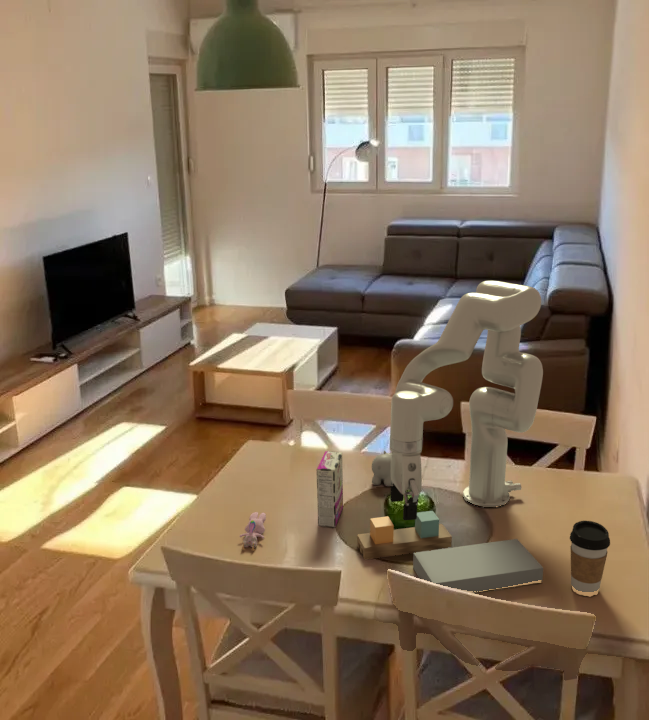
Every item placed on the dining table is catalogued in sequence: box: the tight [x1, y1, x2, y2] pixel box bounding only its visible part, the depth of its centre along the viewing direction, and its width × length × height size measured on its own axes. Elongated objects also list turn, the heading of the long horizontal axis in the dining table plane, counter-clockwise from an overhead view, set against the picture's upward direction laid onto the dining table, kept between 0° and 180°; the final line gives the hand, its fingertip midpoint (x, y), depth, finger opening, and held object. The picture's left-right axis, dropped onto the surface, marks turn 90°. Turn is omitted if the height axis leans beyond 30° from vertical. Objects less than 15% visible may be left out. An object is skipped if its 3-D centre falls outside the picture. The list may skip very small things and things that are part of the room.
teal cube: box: [414, 510, 440, 538], centre depth 194 cm, size 4×4×4 cm
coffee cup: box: [569, 520, 611, 592], centre depth 174 cm, size 8×8×15 cm
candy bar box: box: [316, 450, 344, 528], centre depth 207 cm, size 11×5×16 cm, turn 168°
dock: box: [412, 538, 544, 594], centre depth 182 cm, size 26×13×4 cm, turn 103°
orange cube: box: [369, 515, 395, 544], centre depth 192 cm, size 4×4×4 cm
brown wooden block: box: [356, 523, 453, 560], centre depth 194 cm, size 22×6×4 cm, turn 103°
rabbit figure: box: [239, 511, 267, 552], centre depth 199 cm, size 6×6×15 cm
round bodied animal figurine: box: [371, 450, 392, 487], centre depth 229 cm, size 7×12×8 cm, turn 159°
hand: (403, 510), depth 191 cm, fingers open, 9 cm apart
